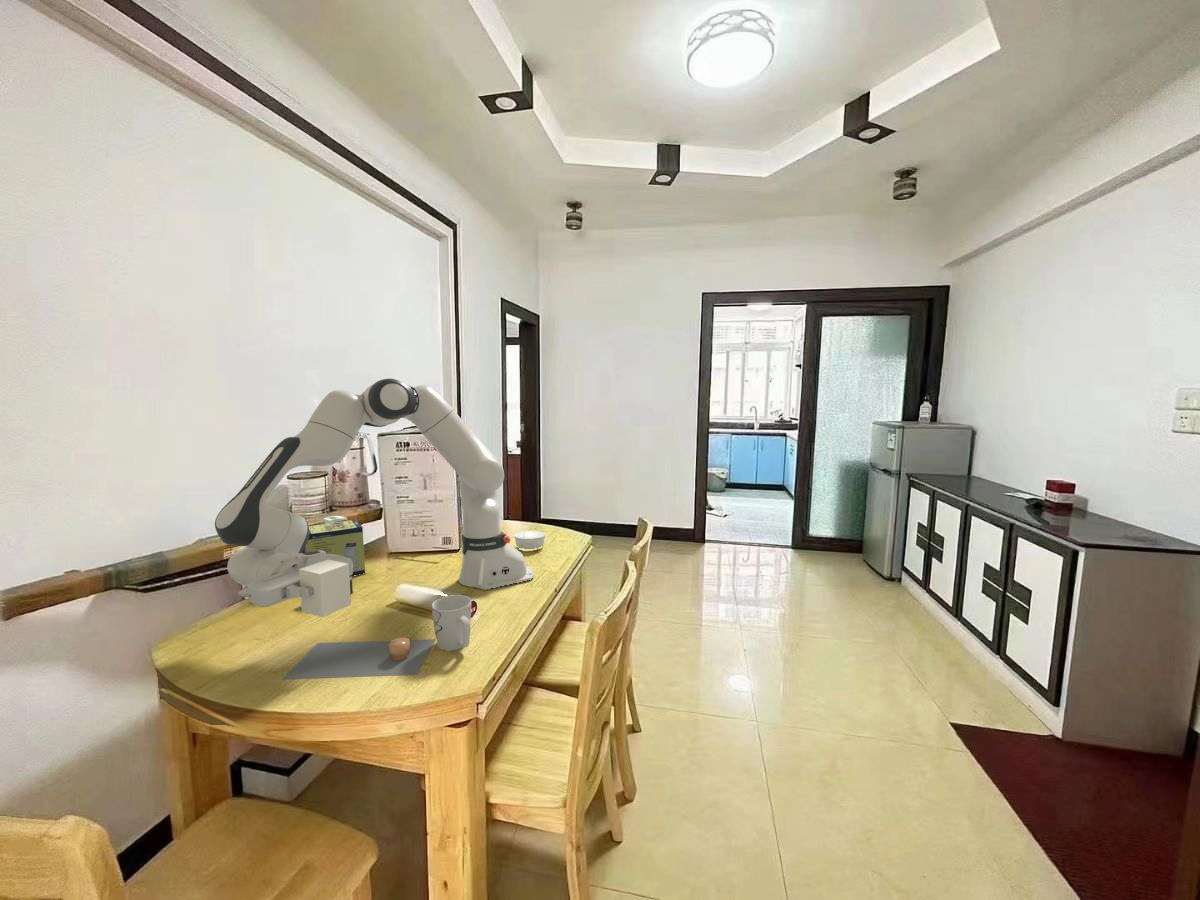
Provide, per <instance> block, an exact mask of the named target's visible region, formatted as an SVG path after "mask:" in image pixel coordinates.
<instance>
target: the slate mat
mask: <svg viewBox="0 0 1200 900" xmlns="http://www.w3.org/2000/svg"><path fill="white" fill-rule="evenodd" d="M391 641H392V640H374V641H373V640H371V641H368V640H367V641H365V640H364V641H340V642H339V641H337V642H333V641H332V642H317V643H316V644H315V646H313V647H312V648H311V649H310V650H309V652H307V653H306V654H305V655H304V656H303V657H302V658H301V660H299V661H298V662H297V664H295V665H294V666H293V668H291V669H290V670H289V671H288V672H287V674H285V675H284V676H283V677H282V679H281V680H283V681H284V680H304V679H305V680H306V679H333V678H334V679H335V678H337V679H338V678H357V677H358V678H359V677H362V678H363V677H383V676H384V677H386V676H387V677H388V676H389V677H390V676H411V675H412V676H414V675H419V673H420V671H421V668H422V667H423V665H424V663H425V662H426V659H427V657H428V656H429V654H430V652H431V650H432V647H433V646H434V644H435V643H436V641H437V639H436V638H435V639H434V638H431V639H428V638H427V639H409V641H410V653H409V654H408V657H407V658H405V659H403V660H399V661H396V660H393V659H392V657H390V651H389V643H390V642H391Z"/></svg>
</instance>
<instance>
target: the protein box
mask: <svg viewBox="0 0 1200 900" xmlns="http://www.w3.org/2000/svg"><path fill="white" fill-rule="evenodd" d="M308 526H309V539H308V542H307V544H306V546H305V548H304V550H303V553H307V552H313V551H325V553H326V554H334V555H339V556H343V557H347V558H350V559H351V560H352V562H353V574H352V576H353V577H355V576H354V575H358V576H360V575H359V574H363V573H365V574H366V568H365V567H366V562H365V544H364V532H363V531H364V529H363V528H364V527H363V526H362V525H361V524H360V523H359V521H358V520H357V519H351V520H347V521H343V522H336V523H329V524H323V523H322V524H317V525H308ZM363 575H364V574H363Z"/></svg>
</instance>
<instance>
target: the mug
mask: <svg viewBox="0 0 1200 900" xmlns="http://www.w3.org/2000/svg"><path fill="white" fill-rule="evenodd" d="M431 613H432V615H431V616H432V624H433V629H434V635H435V639H436V643H437V647H438V648H439V649H440V650H443V651H445V652H446V651H447V652H448V651H450V652H451V651H456V650H457V651H458V650H461V649H464V648H467V647H469V645H470V638H471V637H470V636H471V618H472V600H471V598H470V597H469V596H466V595H463V594H453V595H452V594H451V595H445V596H442V597H439V598H437V599H436V600H434V601H433V602H432V604H431Z"/></svg>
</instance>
